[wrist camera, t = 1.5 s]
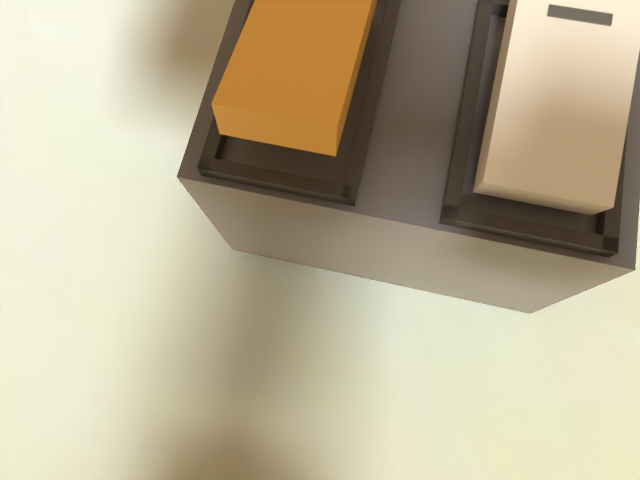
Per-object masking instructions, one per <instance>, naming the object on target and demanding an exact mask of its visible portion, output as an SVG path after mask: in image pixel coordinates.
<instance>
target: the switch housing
mask: <svg viewBox="0 0 640 480" xmlns="http://www.w3.org/2000/svg"><path fill="white" fill-rule="evenodd" d="M254 1H255V0H235V3H234V6H233V9H232V12H231V15H230V18H229V21H228V24H227V27H226V30H225V33H224V36H223V39H222V42H221V45H220V48H219V51H218V54H217V57H216V60H215V63H214V66H213V69H212V72H211V75H210V78H209V81H208V84H207V87H206V90H205V93H204V96H203V99H202V102H201V105H200V108H199V111H198V114H197V117H196V121H195V124H194V127H193V130H192V133H191V136H190V139H189V142H188V145H187V148H186V151H185V154H184V157H183V160H182V163H181V166H180V169H179V172H178V175H177V178H178V179H179V181H180V182H181V183H182V184H183V186H184V187H185V188H186V190H187V191H188V192H189V194H190V195H191V196H192V197H193V199H194V200H195V201H196V203H197V204H198V205H199V206H200V208H201V209H202V210H203V212H204V213H205V214H206V216H207V217H208V218H209V219H210V221H211V222H212V223H213V225H214V226H215V227H216V228H217V230H218V231H219V232H220V234H221V235H222V236H223V238H224V239H225V240H226V241H227V243H228V244H229V245H230V247H231V248H232V249H234V250H238V251H243V252H248V253H252V254H257V255H262V256H266V257H271V258H275V259H280V260H285V261H289V262H294V263H299V264H303V265H308V266H313V267H317V268H322V269H326V270H331V271H336V272H340V273H345V274H350V275H354V276H359V277H363V278H368V279H373V280H377V281H382V282H387V283H391V284H396V285H401V286H405V287H410V288H414V289H419V290H424V291H428V292H433V293H438V294H442V295H447V296H452V297H456V298H461V299H465V300H470V301H475V302H479V303H484V304H489V305H493V306H498V307H502V308H507V309H512V310H516V311H521V312H526V313H533V312H535V311H537V310H540V309H542V308H545V307H547V306H549V305H552V304H554V303H557V302H559V301H562V300H564V299H566V298H569V297H571V296H574V295H576V294H579V293H581V292H583V291H586V290H588V289H591V288H593V287H596V286H598V285H600V284H603V283H605V282H608V281H610V280H612V279H615V278H617V277H620V276H622V275H625V274H627V273H629V272H632V271H634V270H635V263H636V248H637V232H638V216H639V201H640V50H639V56H638V62H637V68H636V74H635V80H634V86H633V93H632V99H631V105H630V111H629V117H628V123H627V129H626V135H625V141H624V147H623V153H622V159H621V165H620V171H619V177H618V183H617V190H616V196H615V202H614V207H613V208H611V209H608V210H605V211H602V212H600V213H597V214H594V215H587V214H582V213H577V212H572V211H567V210H562V209H556V208H551V207H546V206H541V205H536V204H531V203H526V202H520V201H515V200H510V199H505V198H500V197H495V196H490V195H484V194H479V193H474V192H473V188H474V183H475V178H476V172H477V167H478V162H479V157H480V152H481V146H482V141H483V136H484V131H485V126H486V121H487V115H488V110H489V105H490V100H491V95H492V89H493V84H494V79H495V74H496V69H497V64H498V58H499V53H500V48H501V43H502V38H503V32H504V27H505V22H506V17H507V12H508V6H509V1H510V0H377V5H376V8H375V12H374V16H373V20H372V23H371V27H370V31H369V35H368V38H367V42H366V46H365V49H364V53H363V57H362V61H361V64H360V68H359V72H358V76H357V79H356V83H355V87H354V91H353V94H352V98H351V102H350V105H349V109H348V113H347V117H346V120H345V124H344V128H343V132H342V135H341V139H340V143H339V147H338V150H337V154H336V156H331V155H326V154H320V153H315V152H310V151H305V150H300V149H294V148H289V147H284V146H279V145H274V144H268V143H263V142H258V141H253V140H248V139H242V138H237V137H232V136H227V135H222V134H220V133H219V130H218V126H217V122H216V119H215V115H214V112H213V108H212V105H211V103H212V101H213V99H214V96H215V94H216V91H217V89H218V87H219V84H220V82H221V80H222V77H223V75H224V72H225V70H226V68H227V65H228V63H229V61H230V58H231V56H232V53H233V51H234V49H235V46H236V44H237V42H238V39H239V37H240V34H241V32H242V30H243V27H244V25H245V22H246V20H247V18H248V15H249V13H250V11H251V8H252V6H253V3H254Z"/></svg>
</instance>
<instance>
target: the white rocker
mask: <svg viewBox="0 0 640 480" xmlns="http://www.w3.org/2000/svg"><path fill="white" fill-rule="evenodd" d="M639 50H640V0H510V1H509V6H508V12H507V17H506V22H505V27H504V32H503V38H502V43H501V48H500V53H499V58H498V64H497V69H496V74H495V79H494V84H493V89H492V95H491V100H490V105H489V110H488V115H487V121H486V126H485V131H484V136H483V141H482V146H481V152H480V157H479V162H478V167H477V172H476V178H475V183H474V188H473V192H474V193H479V194H484V195H490V196H495V197H500V198H505V199H510V200H515V201H520V202H526V203H531V204H536V205H541V206H546V207H551V208H556V209H562V210H567V211H572V212H577V213H582V214H587V215H594V214H597V213H600V212H602V211H605V210H608V209H611V208H613V207H614V202H615V196H616V190H617V183H618V177H619V171H620V165H621V159H622V153H623V147H624V141H625V135H626V129H627V123H628V117H629V111H630V105H631V99H632V93H633V86H634V80H635V74H636V68H637V62H638V56H639Z"/></svg>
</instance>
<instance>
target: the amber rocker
mask: <svg viewBox="0 0 640 480" xmlns="http://www.w3.org/2000/svg"><path fill="white" fill-rule="evenodd" d="M376 5H377V0H255V1H254V3H253V6H252V8H251V11H250V13H249V15H248V18H247V20H246V22H245V25H244V27H243V30H242V32H241V34H240V37H239V39H238V42H237V44H236V46H235V49H234V51H233V53H232V56H231V58H230V61H229V63H228V65H227V68H226V70H225V72H224V75H223V77H222V80H221V82H220V84H219V87H218V89H217V91H216V94H215V96H214V99H213V101H212V103H211V105H212V108H213V112H214V115H215V119H216V122H217V126H218V130H219V133H220V134H222V135H227V136H232V137H237V138H242V139H248V140H253V141H258V142H263V143H268V144H274V145H279V146H284V147H289V148H294V149H300V150H305V151H310V152H315V153H320V154H326V155H331V156H336V154H337V150H338V147H339V143H340V139H341V135H342V132H343V128H344V124H345V120H346V117H347V113H348V109H349V105H350V102H351V98H352V94H353V91H354V87H355V83H356V79H357V76H358V72H359V68H360V64H361V61H362V57H363V53H364V49H365V46H366V42H367V38H368V35H369V31H370V27H371V23H372V20H373V16H374V12H375V8H376Z"/></svg>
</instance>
